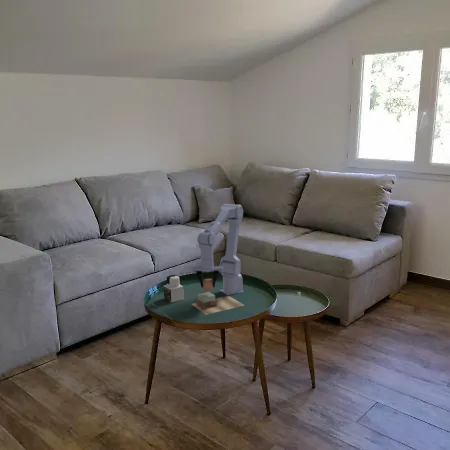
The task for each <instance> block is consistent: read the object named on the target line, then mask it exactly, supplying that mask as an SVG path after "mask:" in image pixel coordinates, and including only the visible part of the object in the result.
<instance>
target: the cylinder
mask: <svg viewBox="0 0 450 450" xmlns="http://www.w3.org/2000/svg"><path fill="white" fill-rule="evenodd" d="M202 280H203V288H202V289H203V291H213V290H214V287H213V278H204V279H202Z"/></svg>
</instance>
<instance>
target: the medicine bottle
mask: <svg viewBox="0 0 450 450" xmlns="http://www.w3.org/2000/svg"><path fill="white" fill-rule="evenodd" d="M184 291H185V290H184V286H183V285H181V284H180V276H179V275H177V274H170V275H168V276H166V284H165V285H163V299H164V300H166V301H168V302H169V303H175V302H179V301H182V300H183V301H184V300H185V292H184Z"/></svg>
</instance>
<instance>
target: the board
mask: <svg viewBox="0 0 450 450" xmlns="http://www.w3.org/2000/svg"><path fill="white" fill-rule="evenodd" d="M215 300H216V301H217V306H214V307H210V308H206V309H203V308H201V307H200V306H198V305H197V303H196V302H194V303H191V305H192V306H193V307H195V309H198V310H199V311H200V312H201V313H203V314H204V315H206V316H207V315H210V314H211V315H212V314H215V313H219V312H223V311H228V310H232V309H236V308H241V307H244V306H245V304H243V303H242V302H240V301H238V300H237V299H235V298H233V297H232V296H230V295H226V296H221V297H217V298H216V297H215Z"/></svg>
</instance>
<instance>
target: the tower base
mask: <svg viewBox="0 0 450 450" xmlns="http://www.w3.org/2000/svg"><path fill="white" fill-rule="evenodd" d="M195 300H196V302H195V303H197V305H198V306H200V307H201V308H203V309H206V308H210V307H214V306H217V301H216V300H215V301H211V302H207V303H203V302H201V301H200V300H198V298H196V299H195Z"/></svg>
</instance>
